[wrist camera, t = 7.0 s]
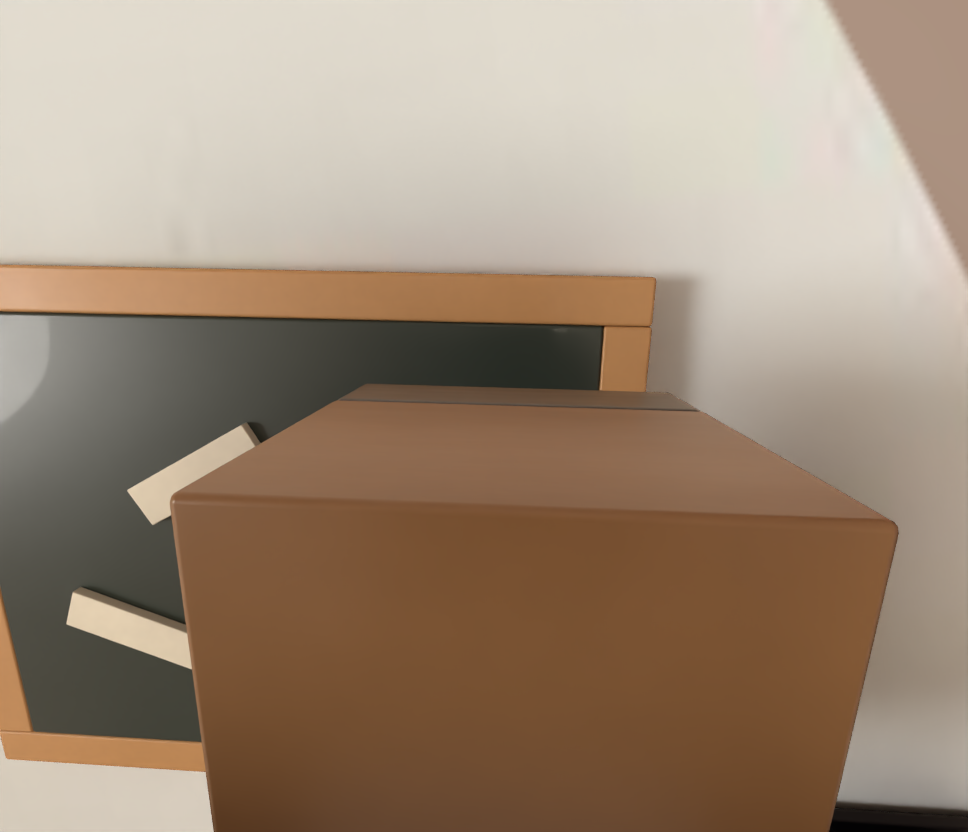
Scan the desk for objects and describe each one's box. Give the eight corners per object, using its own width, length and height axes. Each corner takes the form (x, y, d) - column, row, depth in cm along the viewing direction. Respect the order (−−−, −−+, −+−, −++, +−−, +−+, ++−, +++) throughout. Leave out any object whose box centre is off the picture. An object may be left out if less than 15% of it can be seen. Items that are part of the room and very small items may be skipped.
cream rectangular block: (247, 421, 13) (241, 424, 13) (271, 459, 14) (266, 462, 13) (134, 486, 14) (125, 490, 14) (159, 521, 14) (152, 525, 14)
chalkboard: (646, 278, 13) (658, 276, 12) (600, 769, 17) (606, 799, 16) (-77, 264, 14) (-121, 262, 13) (32, 734, 18) (4, 760, 17)
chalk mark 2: (207, 632, 15) (201, 638, 15) (198, 662, 15) (192, 670, 15) (80, 585, 15) (72, 591, 15) (74, 618, 15) (65, 624, 15)
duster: (611, 939, 11) (690, 1439, 6) (382, 921, 11) (285, 1388, 6) (671, 391, 8) (908, 525, 3) (362, 382, 8) (163, 494, 3)
